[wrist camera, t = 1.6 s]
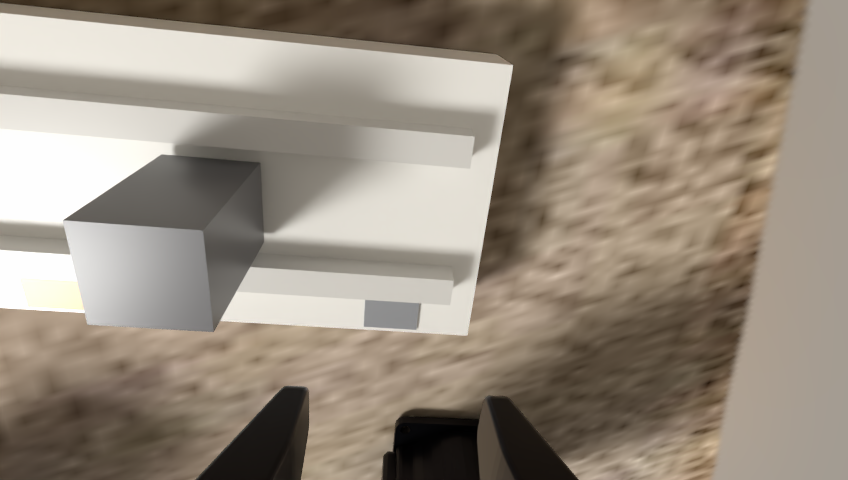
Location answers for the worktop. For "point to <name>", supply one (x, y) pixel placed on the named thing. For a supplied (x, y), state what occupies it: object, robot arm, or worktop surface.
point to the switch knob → (168, 243)
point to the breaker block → (258, 158)
